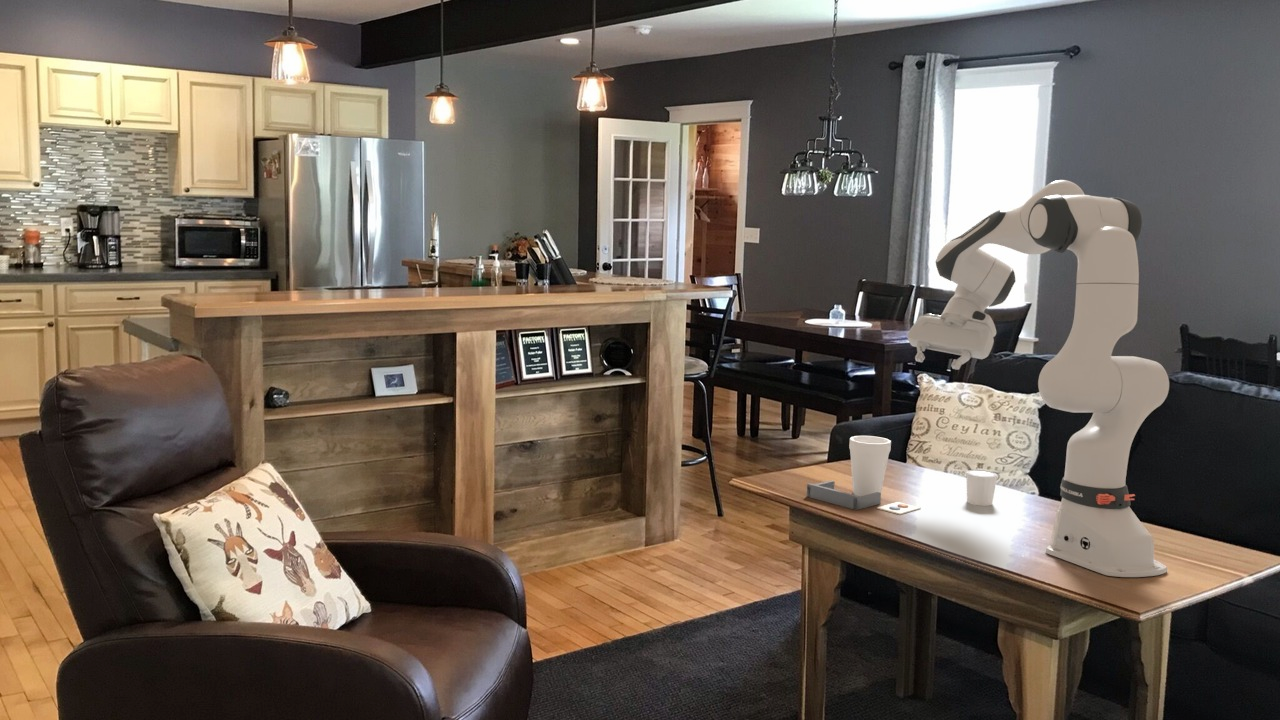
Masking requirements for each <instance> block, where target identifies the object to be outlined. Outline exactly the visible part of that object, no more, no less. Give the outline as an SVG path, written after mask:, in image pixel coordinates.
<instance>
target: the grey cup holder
mask: <svg viewBox="0 0 1280 720" xmlns="http://www.w3.org/2000/svg"><path fill="white" fill-rule="evenodd" d="M835 482H836V481H835V480H827V481H823V482H818V483H807V484H806V497H807V498H810V499H815V500H818V501H821V502H822V501H823V502H826V503H829V504H833V505H837V506H840V507H843V508H848V509H851V510H855V511H857V510H863V509H865V508H869V507H874V506H877V505H880V504H881V499H882V496H881V495H882V492H881V493H879V492H875V493H871V494H868V495H864V496H858V495H855V494H853V493H850V492H845V491H842V490H837V489H835Z"/></svg>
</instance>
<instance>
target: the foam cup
mask: <svg viewBox="0 0 1280 720" xmlns="http://www.w3.org/2000/svg"><path fill="white" fill-rule="evenodd" d="M848 446H849V447H848V448H849V452H850V453H849V455H850V465H851V466H850V469H851V482H852V492H853V493H852V494H854V495H858V496H864V495H868V494H871V493H875V492H879V493H881V494H882V490H883V485H884V480H885V477H886V471H887V466H888V460H889V455H890V452H891V449H892V448H891V446H892V440H890V439H888V438H885V437H882V436H881V437H880V436H874V435H854V436H851V437H850V438H849V445H848Z"/></svg>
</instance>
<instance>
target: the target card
mask: <svg viewBox="0 0 1280 720" xmlns="http://www.w3.org/2000/svg"><path fill="white" fill-rule="evenodd" d="M876 509H878V510H881V511H885V512H888V513H893V514H896V515H899V516H900V515H905V514H908V513H911V512H914V511H918V510H921V507H920V506H916V505H915V506H914V505H912V504H908V503H904V502H900V501H896V502H892V503H888V504H885V505H881V506H877V507H876Z"/></svg>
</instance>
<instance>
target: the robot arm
mask: <svg viewBox="0 0 1280 720" xmlns="http://www.w3.org/2000/svg"><path fill="white" fill-rule="evenodd" d="M1142 229H1143V217H1142V214H1141V210H1140V208H1139V207H1138V206H1137V204H1135V203H1134V202H1132V201H1130V200H1127V199H1125V198H1124V199H1123V198H1120V197H1105V196H1096V195H1089V194H1085V193H1084V190H1083V189H1082V188H1081V187H1080V186H1079V185H1078V184H1076V183H1075V182H1072V181H1070V180H1067V179H1059V180H1057V179H1056V180H1054V181H1051V182H1050V183H1048V184H1046V185H1045V186H1043V187H1042V188H1041V189H1039V190H1038V191H1036V192H1035V193H1034V194H1033V195H1032V196H1031V197H1030V198H1029V199H1027V201H1026V202H1025V203H1024V204H1023V205H1021V206H1019V207H1017V208H1012V209H1007V210H1006V209H998V210H996V211H995V212H992V213H991V214H990V215H988V216H987V217H985V218H984V219H981V221H979V222H978V223H976V224H975V225H974V226H972V227H971V228H970V229H968V230H967V231H965V232H964V233H963V234H961V235H960V236H957V237H955V238H953V239H951V240H950V241H949V242H946V244H945V245H944V246H943V247H942V248H941V250H940V251H939V252H938V254H937V257H936V258H935V259H936V260H935V266H936V268H937V272H938V274H939V276H940V277H942V278H944V279H946V280H947V281H950V282H953V283H954V284H957V286H956V288H955V289H954V295H953V296H952V297H951V298H950V299H949V301H948V302H947V304H946V306H945V307H944V309H943V311H942V313H941V315H939V314H932V313H925V314H923V315H919V316H918V318H917V319H916V321H915V323H914V324H913V325H912V326H911V328H910V329H909V330H908V332H907V335H906V336H907V340H908V342H909V344H910V346H912V347H914V348H915V347H916V352H917V353H916V355H915V356H914V359H915V362H918V363H923V362H924V360H925V359H926V356H925V354H924V353H923V352H925V351H926V350H931V351H936V352H941V353H946V354H953V355H957V356H960V357H958V358H957V359H955V358H954V359H953V360H952V362H951V365H950V367H951V368H952V369H953V370H957V371H958V370H960V369H961V367H962V365H964V364H966V363H967V362H968V361H969V360H970V359H971V358H973V359H978V360H983V359H986V358H987V357H989V355H990V353H991V351H992V349H993V346H994V344H995V343H994V342H995V341H994V337H996V335H997V329H996V325H995V323H994V320H993V319H992V317H991V316H990V314H987V313H986V312H985V310H986V309H987V308H988V307H989V308H991V307H994V306H998V305H1000V304H1003V303H1004V302H1005V301H1006V300H1007V298H1008V296H1009V295H1010V292H1011V291H1012V289H1013V287H1014V284H1015V283H1016V274H1015V270H1014V268H1012V267H1011V266H1010V265H1008V264H1006V263H1005V262H1003V261H1001V260H1000V259H998V258H996V257H994V256H993V255H991V254H989V253H987V252H986V251H984V250H982V249H981V247H983V246H985V245H987V244H993V245H999V246H1001V247H1005V248H1009V249H1011V250H1014V251H1017V252H1018V253H1022V254H1026V255H1041V254H1045V253H1047V252H1050V251H1051V250H1053V251H1055V252H1057V253H1059V254H1064V253H1065V252H1066V250H1068V251H1071V252H1072V253H1073V254H1074V255H1075V257H1076V258H1077V271H1076V283H1075V284H1076V286H1075V287H1076V289H1075V302H1074V303H1075V305H1074V315H1073V316H1074V317H1073V322H1072V326H1071V329H1070V332H1069V335H1068V337H1067V339H1066V341H1065V343H1064V345H1063V346H1062V348H1061V349H1060V350H1059V351H1058V353H1057V354H1056V355H1055V356H1054V357H1053V358H1051V359H1050V360H1049V361H1048V362H1046V364H1044V366H1043V367H1042V369H1041V371H1040V373H1039V376H1038V381H1037V386H1038V392H1039V395H1040V397H1041V399H1042V401H1044V403H1045V404H1046V405H1047V407H1049V408H1052V409H1055V410H1059V411H1063V412H1067V413H1068V412H1069V413H1079V414H1080V413H1087V414H1088V413H1092V416H1091V418H1090V420H1089V421H1088V423H1087V424H1086V425H1085V426H1084V427H1083V428H1081V429H1080V430H1078V431H1076V432H1075V433H1073V434H1072V435H1071V436H1070V438H1069V440H1068V441H1067V446H1066V454H1065V455H1066V456H1065V468H1064V476H1063V477H1062V479H1061V483H1060V487H1059V488H1060V491H1059V492H1060V494H1059V495H1060V497H1061V501H1060V504H1059V507H1058V509H1057V511H1056V513H1055V518H1054V523H1053V528H1052V534H1051V537H1050V538H1051V539H1050V542H1049V545H1048V546H1046V549H1045V553H1046V554H1048V555H1050V556H1052V557H1056V558H1059V559H1060V560H1064V561H1066V562H1069V563H1072V564H1075V565H1077V566H1080V567H1083V568H1084V569H1085V568H1086V569H1088V570H1091V571H1094V572H1096V573H1098V574H1102V575H1104V576H1109V577H1118V578H1119V577H1120V578H1142V577H1143V578H1144V577H1145V578H1147V577H1153V576H1161V575H1165V574H1166V573H1167V572H1168V567H1167V566H1166V565H1165V564H1163V563H1162V562H1160V561H1158V560H1156V559H1155V544H1154V538H1153V536H1152V535H1151V533H1150V531H1149V530H1148V529H1146V527H1145V525H1143V523H1142V521H1140V519H1139V518H1138V517H1137V515H1136V514H1135V512H1134V511H1133V510H1132V508H1131V507H1130V506H1131V503H1132V502H1131V501H1135V498H1132V497H1136V495H1135V494H1134V493H1132V494H1130V493H1129V489H1128V485H1127V484H1126V480H1127V479H1126V477H1127V471H1128V464H1129V458H1130V451H1131V447H1132V443H1133V441H1134V438H1135V436H1136V434H1137V432H1138V430H1139V429H1140V427H1141V426H1142V424H1143V422H1145V419H1146V418H1147V417H1148V416H1149V415H1150V414H1151V413H1152V412H1153V411H1154V410H1156V409H1157V408H1159V407H1160V406H1161V405H1162V404H1163V403H1164V402H1165V400H1166V399H1167V397H1168V394H1169V391H1170V379H1169V376H1168V373H1167V370H1166V369H1165V368H1164V367H1163V365H1162V364H1161V363H1159V362H1158V361H1155V360H1152V359H1148V358H1143V357H1139V356H1133V355H1130V356H1129V355H1117V356H1116V355H1115V356H1114V355H1112V354H1113V350H1114V348H1115V346H1116V344H1117V343H1118V341H1119V339H1120V338H1122V337H1123V336H1125V335H1126V334H1128V333H1129V332H1131V331H1133V330H1134V328H1135V326H1136V324H1137V323H1138V311H1139V310H1138V309H1139V308H1138V307H1139V284H1140V283H1139V282H1140V279H1139V278H1140V276H1139V275H1140V272H1139V271H1140V270H1139V267H1140V266H1139V257H1138V249H1137V244H1136V242H1137V241H1138V238H1139V237H1140V235H1141V232H1142Z"/></svg>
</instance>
